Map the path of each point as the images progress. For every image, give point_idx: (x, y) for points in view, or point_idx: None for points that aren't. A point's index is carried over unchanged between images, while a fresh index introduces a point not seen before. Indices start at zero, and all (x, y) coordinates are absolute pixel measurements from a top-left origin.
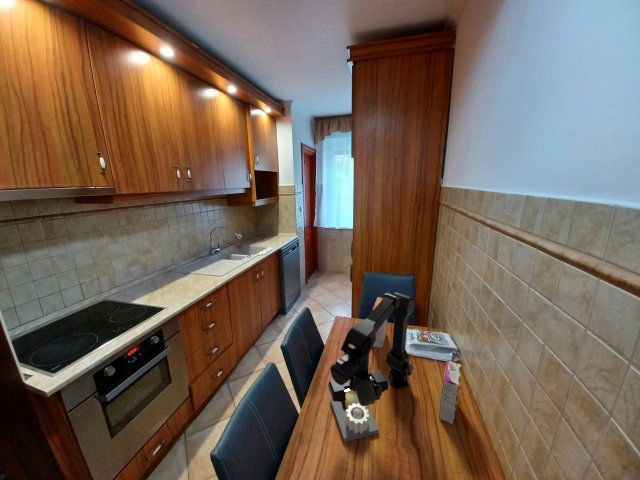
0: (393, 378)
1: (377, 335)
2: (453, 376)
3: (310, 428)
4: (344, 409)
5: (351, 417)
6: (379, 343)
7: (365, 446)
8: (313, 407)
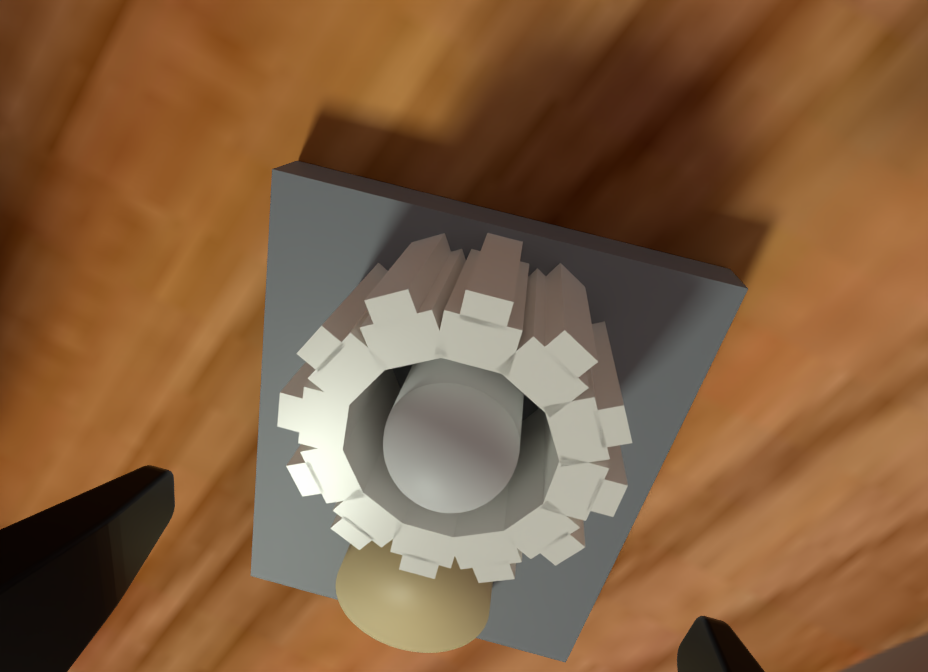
0: None
1: None
2: None
3: (920, 546)
4: (744, 655)
5: (578, 448)
6: None
7: (536, 104)
8: None
